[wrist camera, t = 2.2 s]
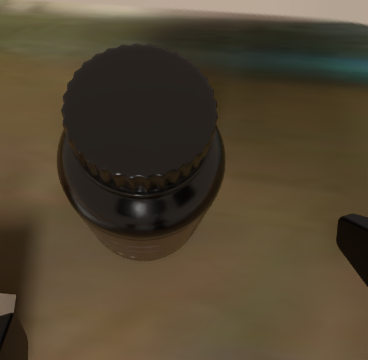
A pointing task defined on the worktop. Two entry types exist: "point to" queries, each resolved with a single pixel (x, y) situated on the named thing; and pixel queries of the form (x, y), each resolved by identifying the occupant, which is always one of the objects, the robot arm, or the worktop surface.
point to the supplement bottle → (140, 149)
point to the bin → (7, 303)
